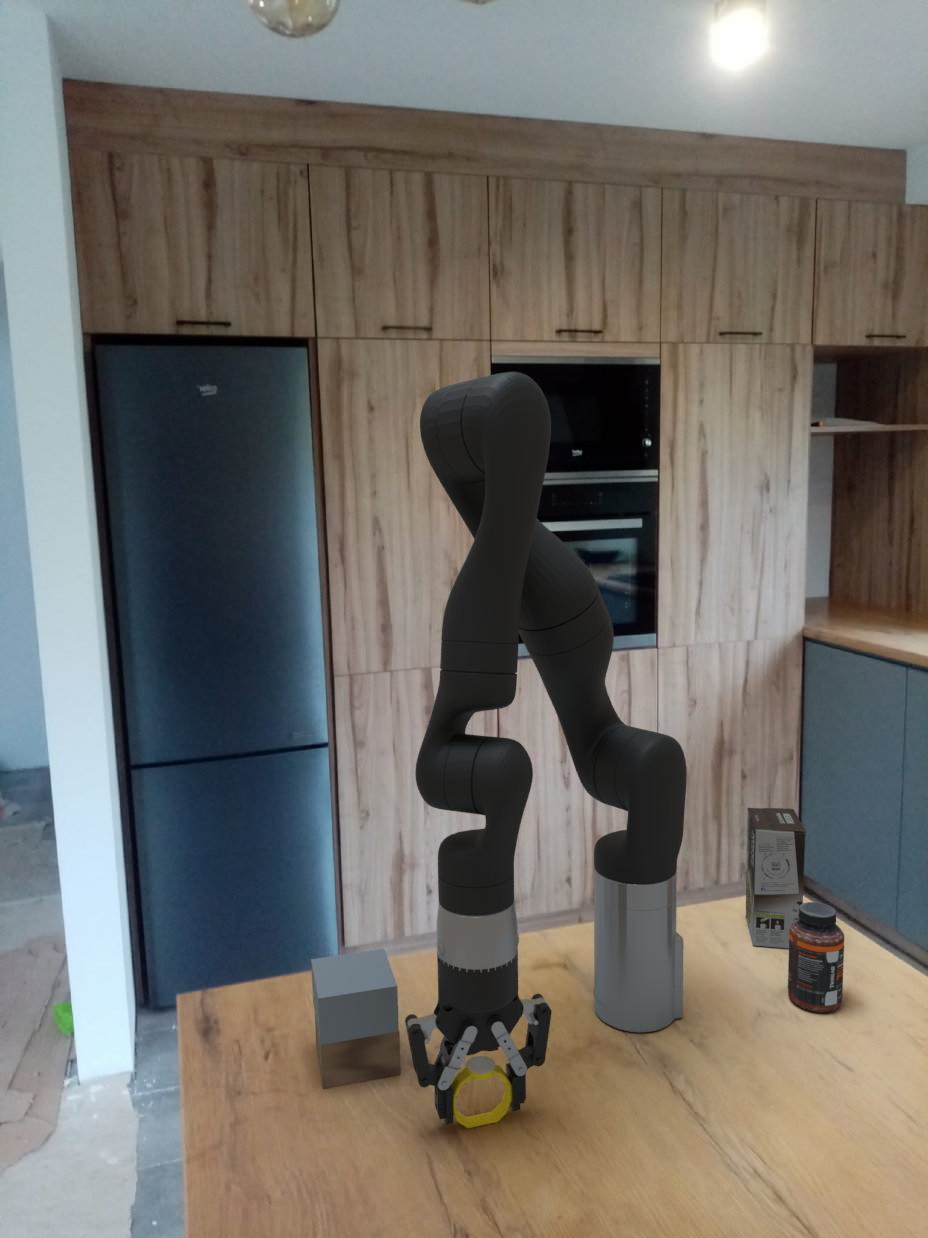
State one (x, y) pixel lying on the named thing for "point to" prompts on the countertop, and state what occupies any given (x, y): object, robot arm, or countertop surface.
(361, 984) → the grey block
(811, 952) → the supplement bottle
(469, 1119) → the watch
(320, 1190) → the countertop surface
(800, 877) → the coffee box
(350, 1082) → the walnut block
